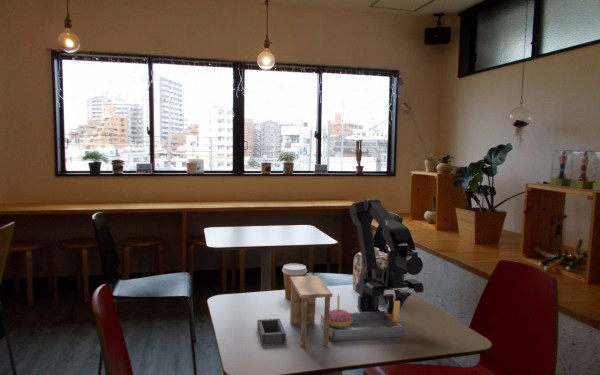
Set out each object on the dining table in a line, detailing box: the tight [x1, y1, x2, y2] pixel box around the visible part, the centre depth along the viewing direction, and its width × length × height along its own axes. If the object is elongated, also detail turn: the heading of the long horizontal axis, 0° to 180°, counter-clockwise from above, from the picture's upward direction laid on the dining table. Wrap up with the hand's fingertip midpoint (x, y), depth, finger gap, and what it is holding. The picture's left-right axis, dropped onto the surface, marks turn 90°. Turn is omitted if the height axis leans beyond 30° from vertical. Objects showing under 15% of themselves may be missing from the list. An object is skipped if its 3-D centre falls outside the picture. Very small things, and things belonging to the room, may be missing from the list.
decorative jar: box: [352, 246, 390, 298], centre depth 172 cm, size 12×12×18 cm
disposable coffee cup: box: [281, 263, 308, 301], centre depth 164 cm, size 10×10×12 cm
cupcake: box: [329, 292, 353, 330], centre depth 134 cm, size 9×8×12 cm
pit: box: [256, 318, 287, 346], centre depth 130 cm, size 7×11×3 cm, turn 12°
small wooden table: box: [289, 275, 333, 348], centre depth 132 cm, size 9×17×16 cm, turn 12°
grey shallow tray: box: [320, 295, 404, 342], centre depth 136 cm, size 23×13×10 cm, turn 102°
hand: (392, 313), depth 138 cm, fingers closed on grey shallow tray, 2 cm apart
